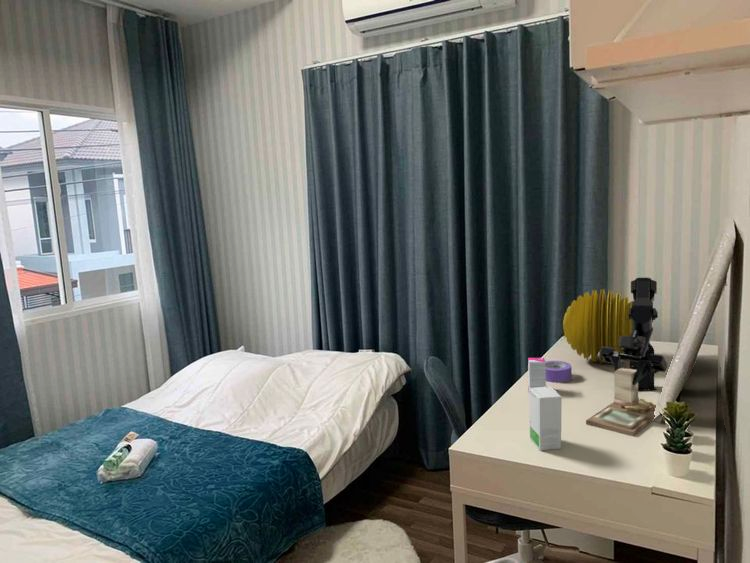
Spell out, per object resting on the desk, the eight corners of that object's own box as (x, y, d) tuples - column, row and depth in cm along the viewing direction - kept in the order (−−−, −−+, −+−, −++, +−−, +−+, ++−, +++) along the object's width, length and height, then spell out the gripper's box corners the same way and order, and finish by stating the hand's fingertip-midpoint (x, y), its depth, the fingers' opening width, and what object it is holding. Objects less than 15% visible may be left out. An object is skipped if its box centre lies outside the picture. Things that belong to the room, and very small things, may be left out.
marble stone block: (620, 396, 176) (619, 365, 175) (642, 401, 171) (642, 369, 170) (609, 403, 172) (609, 371, 170) (633, 408, 166) (633, 375, 165)
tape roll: (567, 384, 205) (567, 371, 204) (535, 381, 211) (535, 368, 210) (574, 374, 215) (574, 362, 214) (543, 371, 221) (543, 359, 220)
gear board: (621, 400, 185) (620, 388, 185) (665, 410, 175) (665, 397, 174) (586, 424, 169) (585, 410, 169) (632, 436, 159) (632, 422, 158)
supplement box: (546, 393, 197) (545, 361, 195) (529, 393, 198) (528, 362, 197) (545, 387, 203) (544, 357, 201) (528, 387, 204) (527, 357, 202)
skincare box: (529, 439, 162) (527, 387, 160) (551, 436, 163) (550, 385, 160) (540, 451, 154) (538, 397, 152) (563, 449, 154) (562, 395, 152)
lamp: (643, 376, 206) (643, 296, 202) (559, 371, 220) (557, 295, 215) (644, 354, 233) (644, 282, 229) (568, 350, 246) (567, 282, 242)
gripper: (601, 321, 177) (585, 364, 172) (663, 329, 164) (648, 375, 158) (613, 340, 184) (597, 381, 178) (673, 348, 170) (659, 393, 164)
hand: (624, 382), depth 169 cm, fingers closed on marble stone block, 5 cm apart
